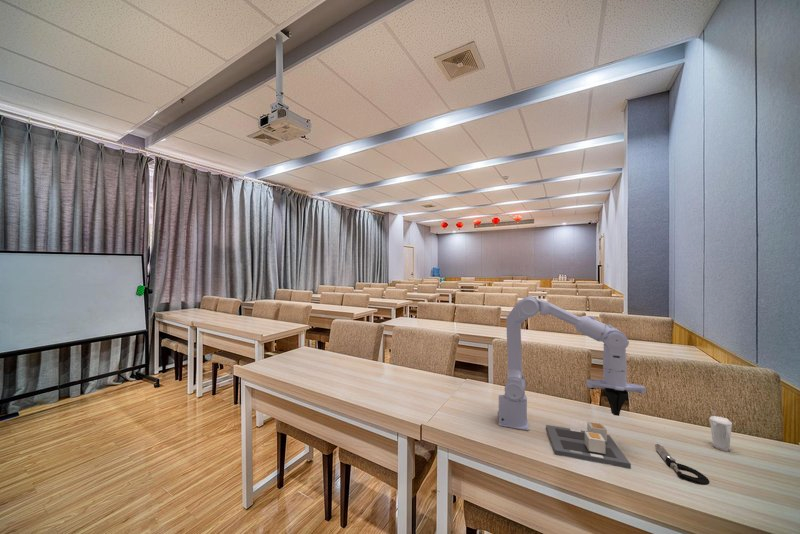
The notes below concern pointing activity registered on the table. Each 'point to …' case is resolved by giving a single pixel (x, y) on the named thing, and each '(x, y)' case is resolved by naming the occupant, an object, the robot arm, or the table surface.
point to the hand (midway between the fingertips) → (615, 414)
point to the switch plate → (584, 447)
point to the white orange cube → (595, 442)
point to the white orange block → (597, 429)
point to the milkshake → (720, 432)
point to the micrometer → (681, 467)
